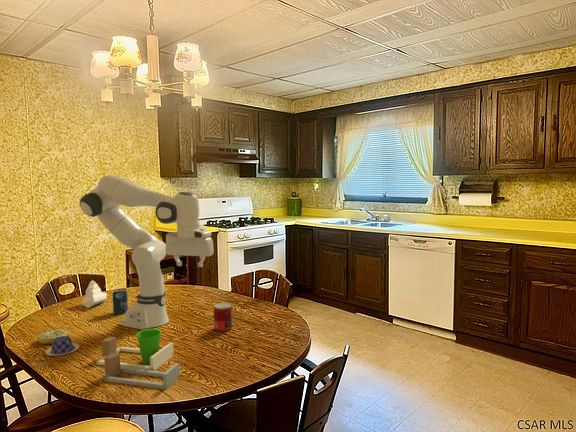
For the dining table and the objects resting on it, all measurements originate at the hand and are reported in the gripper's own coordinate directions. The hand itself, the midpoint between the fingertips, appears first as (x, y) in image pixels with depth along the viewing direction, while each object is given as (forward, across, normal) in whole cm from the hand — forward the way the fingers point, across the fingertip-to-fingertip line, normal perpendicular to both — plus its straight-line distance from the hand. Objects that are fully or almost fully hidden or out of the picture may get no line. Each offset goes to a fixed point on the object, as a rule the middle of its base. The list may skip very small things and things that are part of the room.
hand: (189, 266), depth 161 cm
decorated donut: (+33, -60, -11) cm, 70 cm away
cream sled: (+33, -14, -18) cm, 40 cm away
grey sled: (+33, -2, -31) cm, 45 cm away
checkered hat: (+33, -48, -18) cm, 61 cm away
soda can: (+33, -56, +27) cm, 70 cm away
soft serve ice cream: (+33, -80, +36) cm, 94 cm away
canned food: (+33, +5, +19) cm, 38 cm away
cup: (+33, -7, -18) cm, 38 cm away
